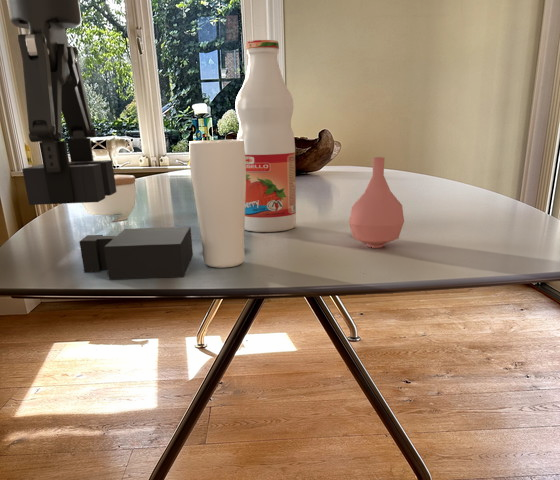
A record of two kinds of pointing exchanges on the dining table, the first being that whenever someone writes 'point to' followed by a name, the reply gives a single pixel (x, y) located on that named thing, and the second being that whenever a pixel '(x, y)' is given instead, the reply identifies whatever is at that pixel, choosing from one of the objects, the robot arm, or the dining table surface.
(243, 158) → the drinking glass
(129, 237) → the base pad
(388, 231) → the pink teardrop shaped piece
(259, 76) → the fruit juice
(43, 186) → the dark grey block
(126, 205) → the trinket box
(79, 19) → the robot arm
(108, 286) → the dining table surface
